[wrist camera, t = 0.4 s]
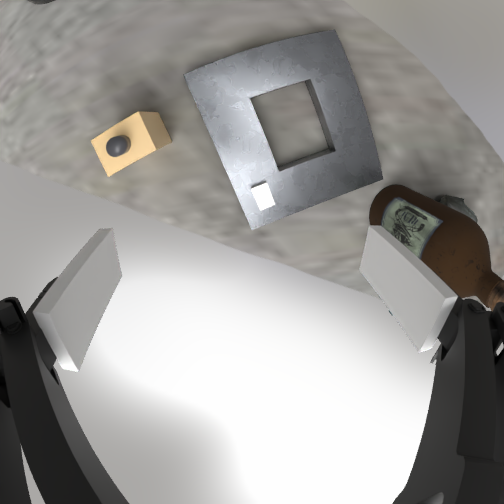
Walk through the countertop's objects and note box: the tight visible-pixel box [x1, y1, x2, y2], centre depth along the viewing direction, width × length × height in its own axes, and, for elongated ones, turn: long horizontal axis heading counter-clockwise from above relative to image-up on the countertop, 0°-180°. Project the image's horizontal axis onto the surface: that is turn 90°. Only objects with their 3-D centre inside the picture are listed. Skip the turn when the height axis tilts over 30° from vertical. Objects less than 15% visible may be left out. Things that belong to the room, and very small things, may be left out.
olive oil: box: [369, 185, 504, 311], centre depth 29 cm, size 11×11×25 cm
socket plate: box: [183, 30, 383, 230], centre depth 32 cm, size 22×20×4 cm
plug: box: [91, 111, 172, 177], centre depth 27 cm, size 4×6×11 cm
